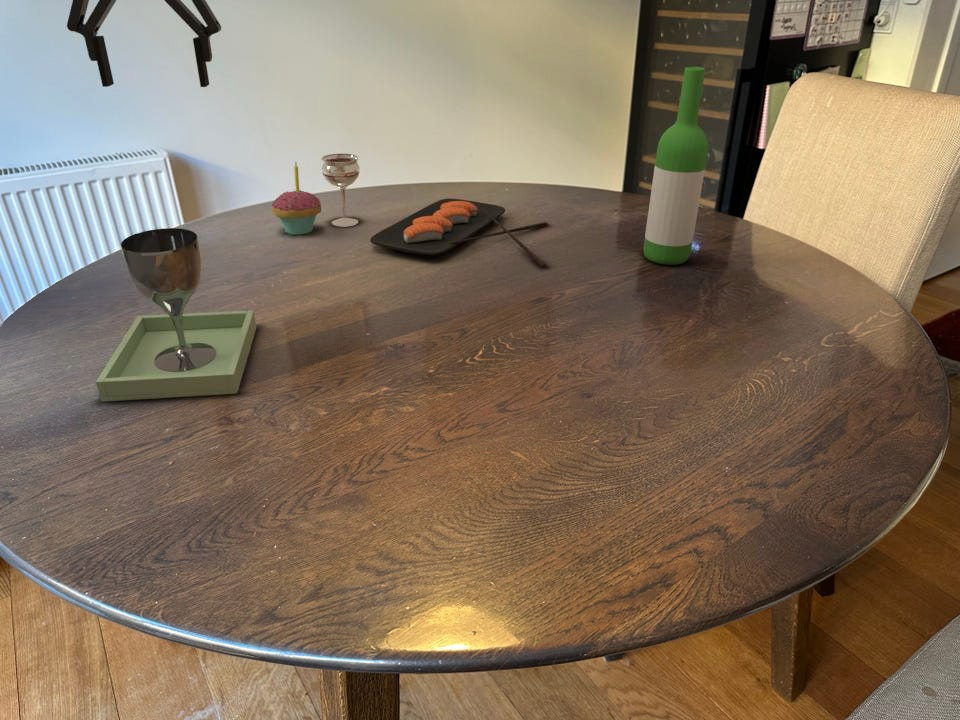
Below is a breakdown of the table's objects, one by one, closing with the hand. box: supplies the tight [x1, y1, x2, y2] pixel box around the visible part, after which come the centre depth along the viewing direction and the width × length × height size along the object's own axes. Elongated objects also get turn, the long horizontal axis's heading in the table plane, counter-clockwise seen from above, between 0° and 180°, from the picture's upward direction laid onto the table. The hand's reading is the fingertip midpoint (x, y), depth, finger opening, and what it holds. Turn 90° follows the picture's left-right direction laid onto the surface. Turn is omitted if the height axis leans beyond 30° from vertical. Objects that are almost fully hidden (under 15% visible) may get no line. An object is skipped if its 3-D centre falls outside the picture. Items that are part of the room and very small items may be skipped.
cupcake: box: [271, 161, 322, 236], centre depth 125 cm, size 9×8×12 cm
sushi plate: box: [369, 198, 548, 268], centre depth 124 cm, size 29×30×4 cm
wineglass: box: [320, 152, 361, 228], centre depth 129 cm, size 7×7×12 cm
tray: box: [95, 310, 257, 403], centre depth 85 cm, size 15×17×3 cm
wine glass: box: [120, 227, 216, 372], centre depth 82 cm, size 8×8×15 cm
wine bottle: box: [643, 66, 709, 266], centre depth 111 cm, size 8×8×30 cm
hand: (157, 85), depth 104 cm, fingers open, 13 cm apart
